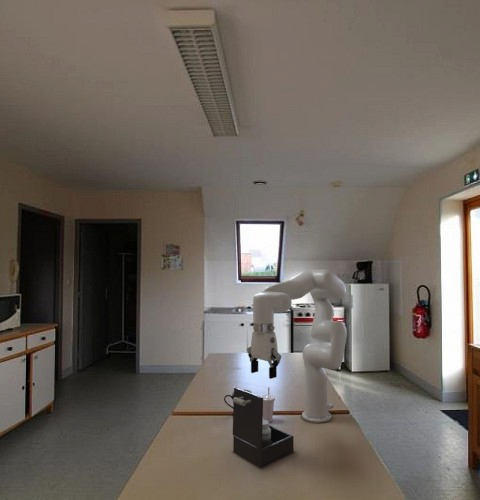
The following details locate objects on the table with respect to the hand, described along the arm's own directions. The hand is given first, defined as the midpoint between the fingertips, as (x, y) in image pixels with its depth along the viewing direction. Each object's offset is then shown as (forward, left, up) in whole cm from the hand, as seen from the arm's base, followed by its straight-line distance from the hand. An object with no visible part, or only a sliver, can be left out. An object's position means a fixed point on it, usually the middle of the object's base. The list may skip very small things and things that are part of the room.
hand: (263, 375), depth 139 cm
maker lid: (+9, +2, -12) cm, 15 cm away
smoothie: (-18, -17, -26) cm, 36 cm away
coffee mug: (-13, -30, -26) cm, 42 cm away
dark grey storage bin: (+2, +2, -26) cm, 26 cm away
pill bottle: (+2, +2, -26) cm, 26 cm away
